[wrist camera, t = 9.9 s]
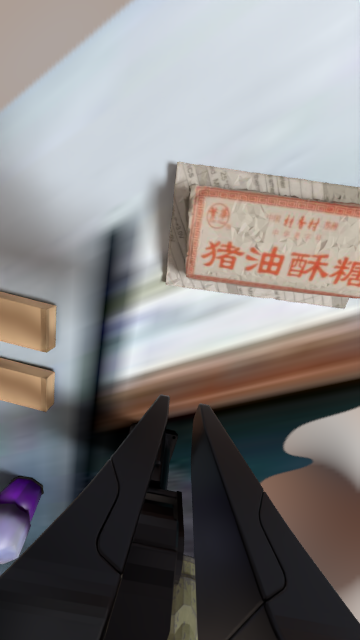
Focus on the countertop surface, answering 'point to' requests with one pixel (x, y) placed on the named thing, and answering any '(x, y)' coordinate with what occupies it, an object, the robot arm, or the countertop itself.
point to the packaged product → (264, 236)
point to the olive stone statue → (184, 604)
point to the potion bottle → (17, 515)
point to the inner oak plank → (26, 385)
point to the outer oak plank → (27, 322)
